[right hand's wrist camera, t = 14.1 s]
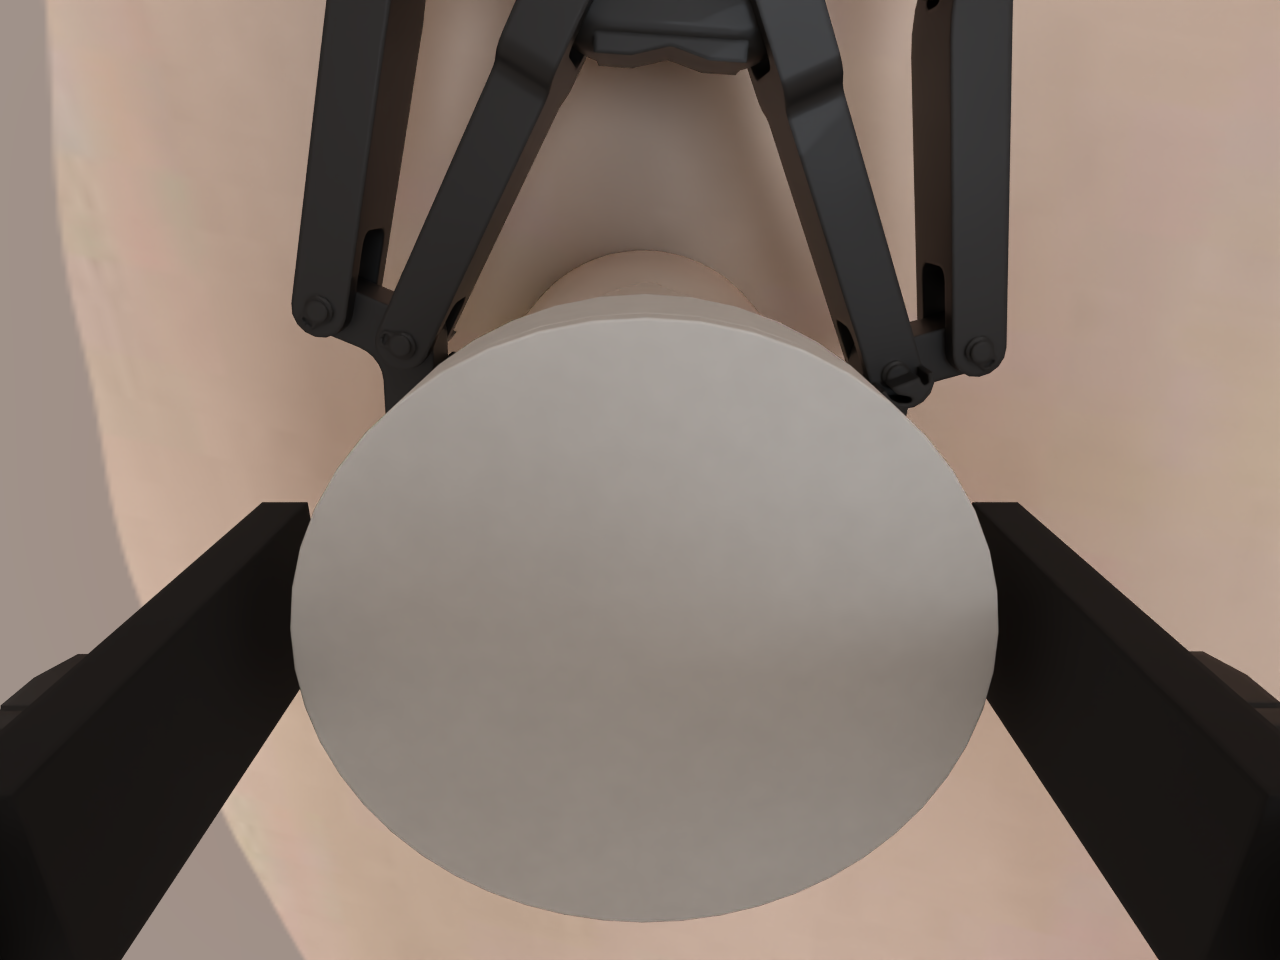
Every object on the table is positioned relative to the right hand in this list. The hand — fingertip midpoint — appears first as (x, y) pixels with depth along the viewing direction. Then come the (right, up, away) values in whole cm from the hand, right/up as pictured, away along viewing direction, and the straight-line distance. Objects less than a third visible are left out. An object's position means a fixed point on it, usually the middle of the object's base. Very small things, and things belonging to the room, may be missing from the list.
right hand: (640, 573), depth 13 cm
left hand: (0, -2, +8) cm, 8 cm away
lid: (0, -1, -2) cm, 2 cm away
